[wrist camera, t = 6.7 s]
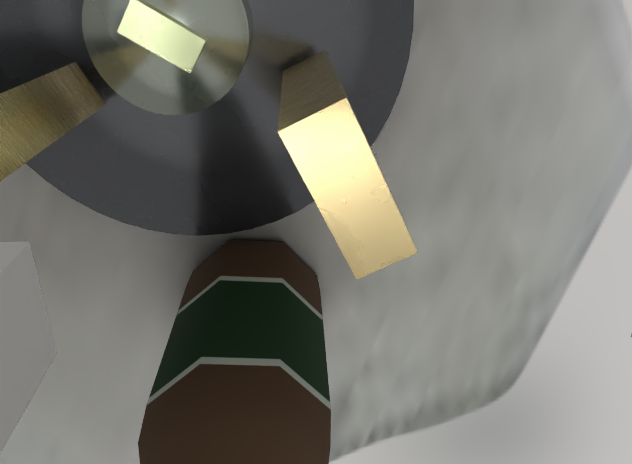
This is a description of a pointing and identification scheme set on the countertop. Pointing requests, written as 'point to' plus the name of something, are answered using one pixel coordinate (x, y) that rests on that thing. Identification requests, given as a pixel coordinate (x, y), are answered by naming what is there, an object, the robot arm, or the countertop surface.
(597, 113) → the countertop surface
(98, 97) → the knob
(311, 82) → the tan rectangular block
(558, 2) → the countertop surface
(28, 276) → the robot arm
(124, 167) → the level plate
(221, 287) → the beer bottle
